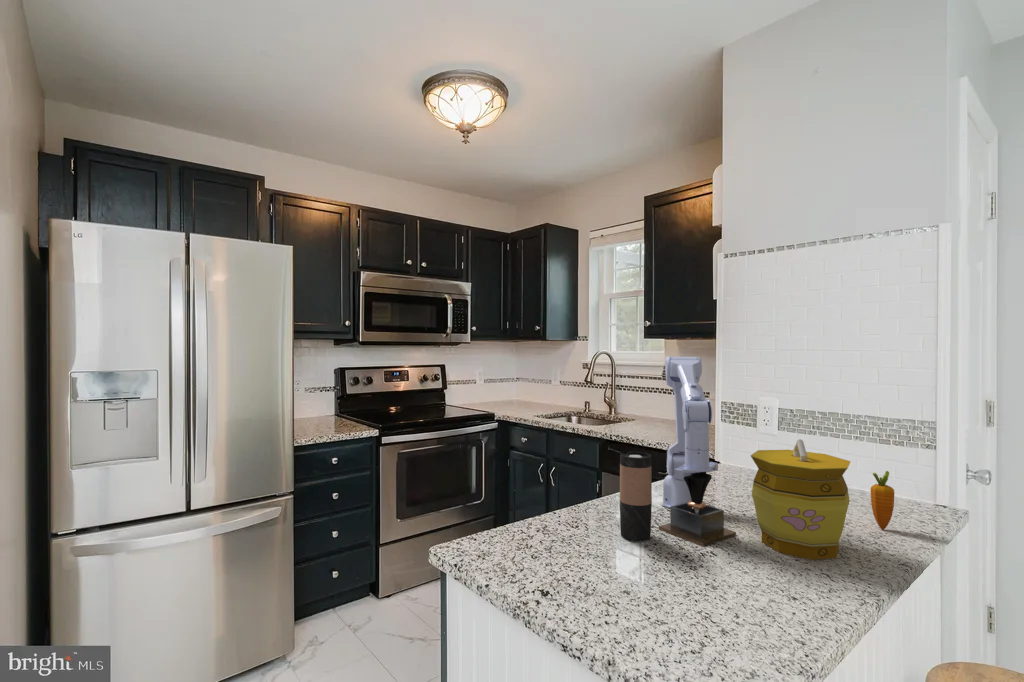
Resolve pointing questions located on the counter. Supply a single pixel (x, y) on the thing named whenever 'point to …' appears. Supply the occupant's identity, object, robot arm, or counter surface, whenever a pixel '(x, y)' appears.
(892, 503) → the carrot
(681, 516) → the knob box on board
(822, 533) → the container
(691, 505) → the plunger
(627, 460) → the travel mug
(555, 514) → the counter surface
